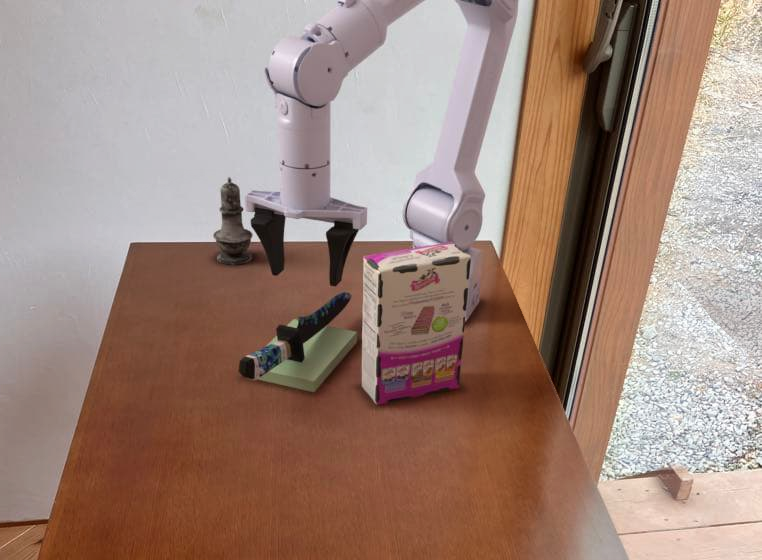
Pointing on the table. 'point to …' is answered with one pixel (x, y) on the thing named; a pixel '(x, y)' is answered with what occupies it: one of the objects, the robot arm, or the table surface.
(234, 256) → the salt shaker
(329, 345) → the cutting board
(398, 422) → the table surface
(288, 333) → the knife
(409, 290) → the candy bar box
